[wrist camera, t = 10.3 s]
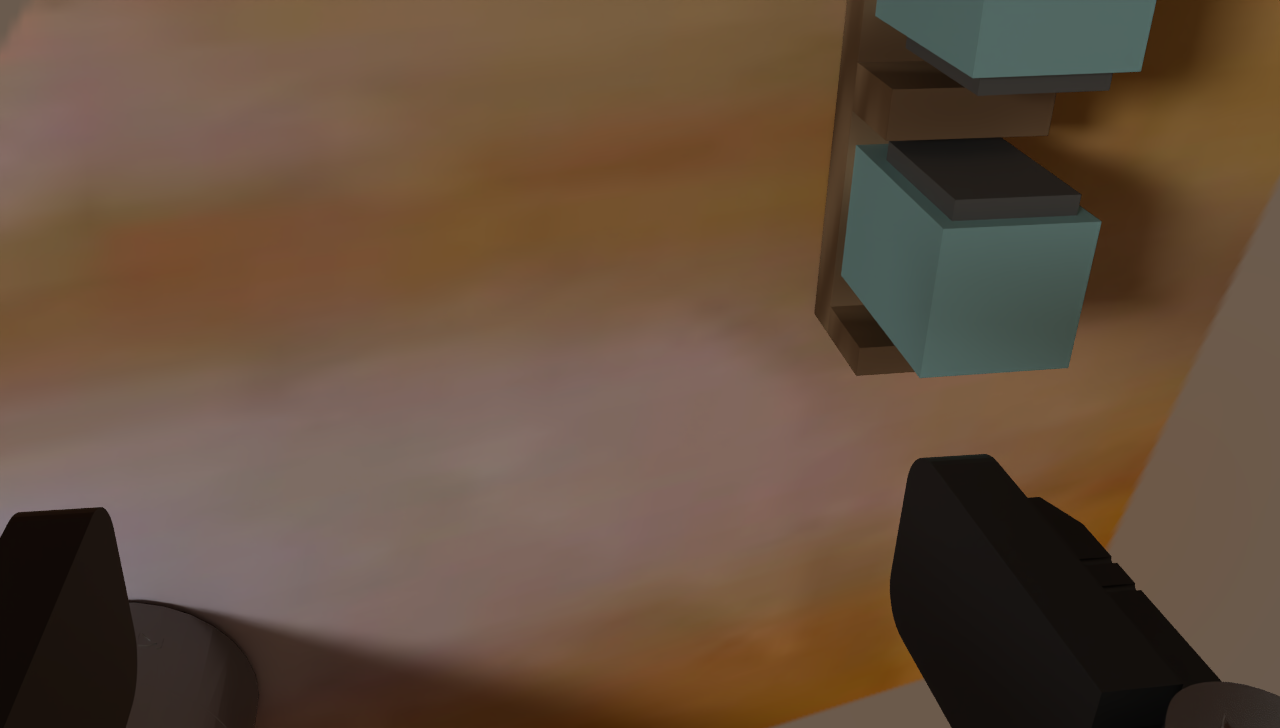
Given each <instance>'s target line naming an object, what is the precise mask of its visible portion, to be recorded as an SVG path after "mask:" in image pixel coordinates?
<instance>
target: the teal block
mask: <svg viewBox="0 0 1280 728" xmlns="http://www.w3.org/2000/svg"><path fill="white" fill-rule="evenodd" d="M1155 4H1156V0H877V4H876V13H875V16H876V17H878V18H879V19H881V20H882V21H884V22H886V23H887V24H889V25H890V26H892V27H893V28H895V29H896V30H898V31H900V32H901V33H903V34H904V35H906V36H907V40H906V49H908V50H909V51H911V52H912V53H914V54H915V55H917V56H918V57H920V58H921V59H923V60H924V61H926V62H927V63H929V64H930V65H932V66H933V67H935V68H936V69H938V70H939V71H941V72H942V73H944V74H945V75H947V76H948V77H950V78H951V79H953V80H954V81H956V82H958V83H959V84H961V85H962V86H964V87H965V88H967V89H968V90H970V91H971V92H973V93H974V94H976V95H977V96H987V95H1011V94H1035V93H1059V92H1082V91H1106V90H1109V89H1110V84H1111V79H1112V74H1113V73H1118V72H1141V69H1142V64H1143V59H1144V55H1145V50H1146V46H1147V41H1148V37H1149V32H1150V27H1151V23H1152V18H1153V14H1154V9H1155Z"/></svg>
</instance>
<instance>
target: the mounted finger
mask: <svg viewBox="0 0 1280 728" xmlns="http://www.w3.org/2000/svg"><path fill="white" fill-rule="evenodd" d="M1080 199H1081V194H1080V193H1079V192H1077V191H1076V190H1074V189H1073V188H1072V187H1070V186H1069V185H1067V184H1066V183H1064V182H1063V181H1062V180H1060V179H1059V178H1057V177H1056V176H1055V175H1053V174H1052V173H1050V172H1049V171H1048V170H1046V169H1045V168H1043V167H1042V166H1041V165H1039V164H1038V163H1036V162H1035V161H1034V160H1032V159H1031V158H1029V157H1028V156H1026V155H1025V154H1024V153H1022V152H1021V151H1019V150H1018V149H1017V148H1015V147H1014V146H1012V145H1011V144H1010V143H1008V142H1007V141H1005V140H1004V139H1003V138H1001V137H993V138H964V139H935V140H905V141H889V143H888V144H869V145H856V150H855V158H854V167H853V176H852V185H851V193H850V202H849V211H848V220H847V228H846V237H845V246H844V254H843V263H842V272H841V276H842V277H843V278H844V280H845V281H846V282H847V284H848V285H849V286H850V288H851V289H852V290H853V291H854V293H855V294H856V295H857V297H858V298H859V299H860V301H861V302H862V303H863V305H864V306H865V307H866V308H867V310H868V311H869V312H870V314H871V315H872V316H873V318H874V319H875V320H876V321H877V323H878V324H879V325H880V327H881V328H882V329H883V331H884V332H885V333H886V334H887V336H888V337H889V338H890V340H891V341H892V342H893V344H894V345H895V346H896V348H897V349H898V350H899V351H900V353H901V354H902V355H903V357H904V358H905V359H906V361H907V362H908V363H909V364H910V366H911V367H912V368H913V370H914V371H915V372H916V374H917V375H918V376H919V378H927V377H942V376H956V375H971V374H986V373H1000V372H1015V371H1030V370H1044V369H1059V368H1068V367H1069V362H1070V358H1071V353H1072V349H1073V345H1074V340H1075V336H1076V331H1077V327H1078V323H1079V318H1080V314H1081V310H1082V305H1083V301H1084V296H1085V292H1086V288H1087V283H1088V279H1089V275H1090V270H1091V266H1092V261H1093V257H1094V253H1095V248H1096V244H1097V240H1098V235H1099V231H1100V226H1101V222H1102V221H1100V220H1099V219H1097V218H1096V217H1095V216H1093V215H1092V214H1091V213H1089V212H1088V211H1086V210H1085V209H1084V208H1082V207H1081V206H1080V205H1079V204H1080Z"/></svg>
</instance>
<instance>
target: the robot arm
mask: <svg viewBox="0 0 1280 728" xmlns="http://www.w3.org/2000/svg"><path fill="white" fill-rule="evenodd" d="M890 598H891V606H892V612H893V617H894V620H895V624H896V627H897V629H898V632H899V634H900V636H901V638H902V640H903V642H904V644H905V645H906V647H907V649H908V651H909V653H910V654H911V656H912V658H913V660H914V661H915V663H916V665H917V667H918V669H919V670H920V672H921V674H922V676H923V677H924V679H925V681H926V683H927V685H928V686H929V688H930V690H931V692H932V693H933V695H934V697H935V699H936V701H937V702H938V704H939V706H940V708H941V710H942V711H943V713H944V715H945V717H946V718H947V720H948V722H949V724H950V726H951V727H952V728H1280V696H1278V695H1276V694H1273V693H1270V692H1267V691H1265V690H1262V689H1259V688H1255V687H1251V686H1248V685H1244V684H1238V683H1232V682H1222V681H1221V680H1220V679H1219V678H1218V677H1217V676H1216V675H1215V673H1214V672H1213V671H1212V670H1211V669H1210V668H1209V667H1208V665H1207V664H1206V663H1205V662H1204V661H1203V660H1202V659H1201V658H1200V656H1199V655H1198V654H1197V653H1196V652H1195V651H1194V650H1193V648H1192V647H1191V646H1190V645H1189V644H1188V643H1187V642H1186V641H1185V639H1184V638H1183V637H1182V636H1181V635H1180V634H1179V633H1178V631H1177V630H1176V629H1175V628H1174V627H1173V626H1172V625H1171V624H1170V622H1169V621H1168V620H1167V619H1166V618H1165V617H1164V616H1163V614H1162V613H1161V612H1160V611H1159V610H1158V609H1157V608H1156V607H1155V605H1154V604H1153V603H1152V602H1151V601H1150V600H1149V599H1148V597H1147V596H1146V595H1145V594H1144V593H1143V592H1142V591H1141V590H1138V591H1136V589H1135V583H1134V582H1133V580H1132V579H1131V578H1130V577H1129V576H1128V575H1127V574H1126V573H1125V571H1124V570H1123V569H1122V568H1121V567H1120V566H1119V565H1118V563H1112V561H1111V555H1110V554H1109V553H1108V552H1107V551H1106V550H1105V549H1104V548H1103V546H1102V545H1101V544H1100V543H1099V542H1098V541H1097V540H1096V538H1095V537H1094V536H1093V535H1092V534H1091V533H1090V532H1089V531H1088V529H1087V528H1086V527H1085V526H1084V525H1083V524H1082V523H1080V522H1079V521H1077V520H1076V519H1074V518H1072V517H1071V516H1069V515H1068V514H1066V513H1064V512H1063V511H1061V510H1060V509H1058V508H1056V507H1055V506H1053V505H1052V504H1050V503H1048V502H1047V501H1045V500H1044V499H1042V498H1040V497H1034V498H1027V497H1026V496H1025V494H1024V493H1023V492H1022V491H1021V490H1020V488H1019V487H1018V486H1017V485H1016V484H1015V482H1014V481H1013V480H1012V479H1011V478H1010V476H1009V475H1008V474H1007V473H1006V472H1005V470H1004V469H1003V468H1002V467H1001V466H1000V465H999V463H998V462H997V461H996V460H995V459H994V458H993V457H991V456H990V455H987V454H978V455H962V456H946V457H930V458H919V459H917V460H916V461H915V462H914V463H913V465H912V466H911V468H910V471H909V474H908V478H907V483H906V489H905V495H904V501H903V507H902V512H901V518H900V524H899V530H898V536H897V541H896V547H895V553H894V559H893V564H892V570H891V577H890ZM258 698H259V692H258V686H257V681H256V676H255V674H254V671H253V669H252V667H251V665H250V663H249V661H248V659H247V657H246V656H245V655H244V654H243V653H242V651H241V650H240V649H239V648H238V647H237V646H236V644H235V643H234V642H233V641H232V640H231V639H229V638H228V637H227V636H225V635H224V634H223V633H222V632H220V631H219V630H218V629H216V628H215V627H214V626H212V625H210V624H208V623H206V622H204V621H202V620H200V619H198V618H196V617H194V616H192V615H190V614H186V613H183V612H180V611H177V610H173V609H170V608H167V607H163V606H156V605H149V604H142V603H129V601H128V596H127V591H126V586H125V581H124V576H123V571H122V567H121V562H120V557H119V552H118V547H117V542H116V537H115V532H114V528H113V524H112V521H111V518H110V516H109V514H108V512H107V511H106V509H104V508H103V507H97V508H81V509H65V510H49V511H33V512H18V513H16V514H15V515H13V516H12V518H11V519H10V521H9V522H8V524H7V526H6V528H5V530H4V532H3V534H2V536H1V537H0V728H254V727H255V720H256V714H257V706H258Z"/></svg>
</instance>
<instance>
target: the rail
mask: <svg viewBox="0 0 1280 728" xmlns="http://www.w3.org/2000/svg"><path fill="white" fill-rule="evenodd" d="M876 4H877V0H847V7H846V17H845V26H844V36H843V46H842V55H841V65H840V74H839V84H838V93H837V103H836V113H835V122H834V132H833V141H832V151H831V161H830V170H829V180H828V189H827V199H826V208H825V218H824V228H823V237H822V247H821V256H820V266H819V276H818V285H817V295H816V304H815V315H816V317H817V318H818V320H819V321H820V323H821V324H822V326H823V327H824V328H825V330H826V331H827V333H828V334H829V336H830V337H831V339H832V340H833V342H834V343H835V345H836V346H837V348H838V349H839V351H840V352H841V354H842V355H843V357H844V358H845V360H846V361H847V363H848V364H849V366H850V367H851V369H852V370H853V372H854V373H855V375H856V376H860V375H874V374H889V373H904V372H915V371H914V370H913V368H912V367H911V366H910V364H909V363H908V362H907V361H906V359H905V358H904V357H903V355H902V354H901V353H900V351H899V350H898V349H897V348H896V346H895V345H894V344H893V342H892V341H891V340H890V338H889V337H888V336H887V334H886V333H885V332H884V331H883V329H882V328H881V327H880V325H879V324H878V323H877V321H876V320H875V319H874V318H873V316H872V315H871V314H870V312H869V311H868V310H867V308H866V307H865V306H864V305H863V303H862V302H861V301H860V299H859V298H858V297H857V295H856V294H855V293H854V291H853V290H852V289H851V288H850V286H849V285H848V284H847V282H846V281H845V280H844V278H843V277H842V276H841V272H842V263H843V254H844V246H845V237H846V228H847V220H848V211H849V202H850V193H851V185H852V176H853V167H854V158H855V150H856V145H869V144H888V143H889V141H905V140H935V139H964V138H993V137H1022V136H1048V133H1049V128H1050V123H1051V118H1052V113H1053V108H1054V102H1055V97H1056V93H1035V94H1011V95H987V96H977V95H976V94H974V93H973V92H971V91H970V90H968V89H967V88H965V87H964V86H962V85H961V84H959V83H958V82H956V81H954V80H953V79H951V78H950V77H948V76H947V75H945V74H944V73H942V72H941V71H939V70H938V69H936V68H935V67H933V66H932V65H930V64H929V63H927V62H926V61H924V60H923V59H921V58H920V57H918V56H917V55H915V54H914V53H912V52H911V51H909V50H908V49H906V40H907V36H906V35H904V34H903V33H901V32H900V31H898V30H896V29H895V28H893V27H892V26H890V25H889V24H887V23H886V22H884V21H882V20H881V19H879V18H878V17H876V16H875V13H876Z"/></svg>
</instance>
